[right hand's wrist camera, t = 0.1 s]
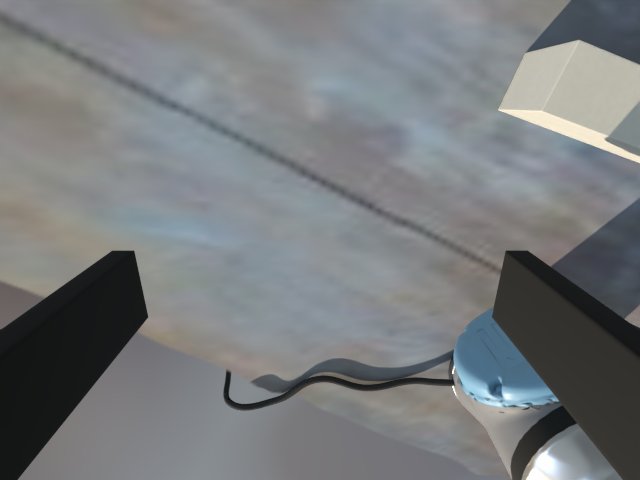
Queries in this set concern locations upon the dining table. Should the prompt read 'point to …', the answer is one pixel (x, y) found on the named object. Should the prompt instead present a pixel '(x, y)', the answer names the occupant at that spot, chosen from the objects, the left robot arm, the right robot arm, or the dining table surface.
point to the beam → (580, 95)
